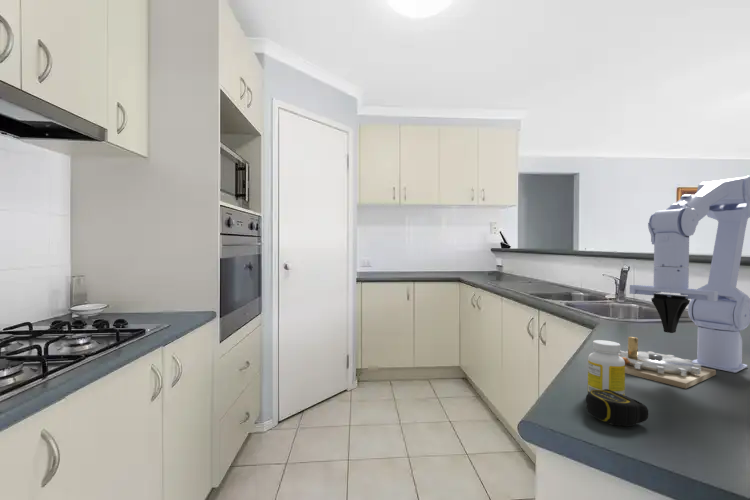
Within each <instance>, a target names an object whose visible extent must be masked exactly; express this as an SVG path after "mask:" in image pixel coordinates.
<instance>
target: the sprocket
mask: <svg viewBox="0 0 750 500" xmlns="http://www.w3.org/2000/svg"><path fill="white" fill-rule="evenodd" d="M618 355H619V356H620V357H622V358H623V359H624V361H625V364H628V365H631V366H634V367H635V368H636V369H646V370H651V371H656V372H657V373H661V374H664V373H672V374H678V375H681V376H686V374H690V373H691V374H696V375H699V374H700V371H701V367H702V366H701V365H700V364H693V363H692V361H693V360H692V359H687V358H680V357H677V356H675V355H674V354H663V353H657V352H654V351H649V350H648V351H639V338H638V337H635V336H627V350H626V351H624V350H620V353H619V354H618Z"/></svg>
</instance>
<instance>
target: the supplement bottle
mask: <svg viewBox="0 0 750 500" xmlns="http://www.w3.org/2000/svg"><path fill="white" fill-rule="evenodd" d="M592 350H594V351H593V352H591V353H589V355H588V357H587V359H588V360H587V394H588V393H589V392H590V391H591V390H604V389H608V390H611V391H614V392H616V393H619V394H622V395H625V394H626V393H625V392H626V391H625V389H626V373H625V361H624V359H623V358H622V357H620V356H619V355H618V354H619V353H620V351H621V344H620V343H619V342H616V341H612V340H611V341H610V340H602V339H595V340H593V341H592ZM625 396H626V395H625Z"/></svg>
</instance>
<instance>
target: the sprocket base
mask: <svg viewBox="0 0 750 500" xmlns="http://www.w3.org/2000/svg"><path fill="white" fill-rule="evenodd" d="M625 374H627V375H631V376H635V377H639V378H643V379H647V380H650V381H655V382H659V383H662V384H667V385H671V386H674V387H678V388H682V389H685V390H686V389H688V388H690V387H693V386H695V385H697V384H699V383H701V382H703V381H705V380H707V379H710V378H712V377H714V376H716V375H717V369H714V368H709V367H705V366H701V371H700V374H699V375H696V374H691V373H690V374H686V376H681V375H678V374H672V373H664V374H661V373H657V372H656V371H651V370H646V369H636V368H635V367H634V366H631V365H628V364H625Z"/></svg>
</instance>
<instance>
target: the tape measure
mask: <svg viewBox="0 0 750 500" xmlns="http://www.w3.org/2000/svg"><path fill="white" fill-rule="evenodd" d="M585 397H586V398H585V403H586V409H587V410H586V411H587V412H588V414H590V415H591V416H592V417H593V418H596V419H597V420H600V421H601V422H605V423H607V424H609V425H615V426H622V427H632V426H635V425H637V424H640V423H644V422H646V421H647V420H648V419H649V409H648V406H646V405H645V404H644V403H642V402H640V401H639V400H636V399H634V398H632V397H629V396H627V395H622V394H619V393H616V392H614V391H611V390H608V389H604V390H591V391H590V392H589V393H588V392H587V394H586V396H585Z"/></svg>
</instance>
